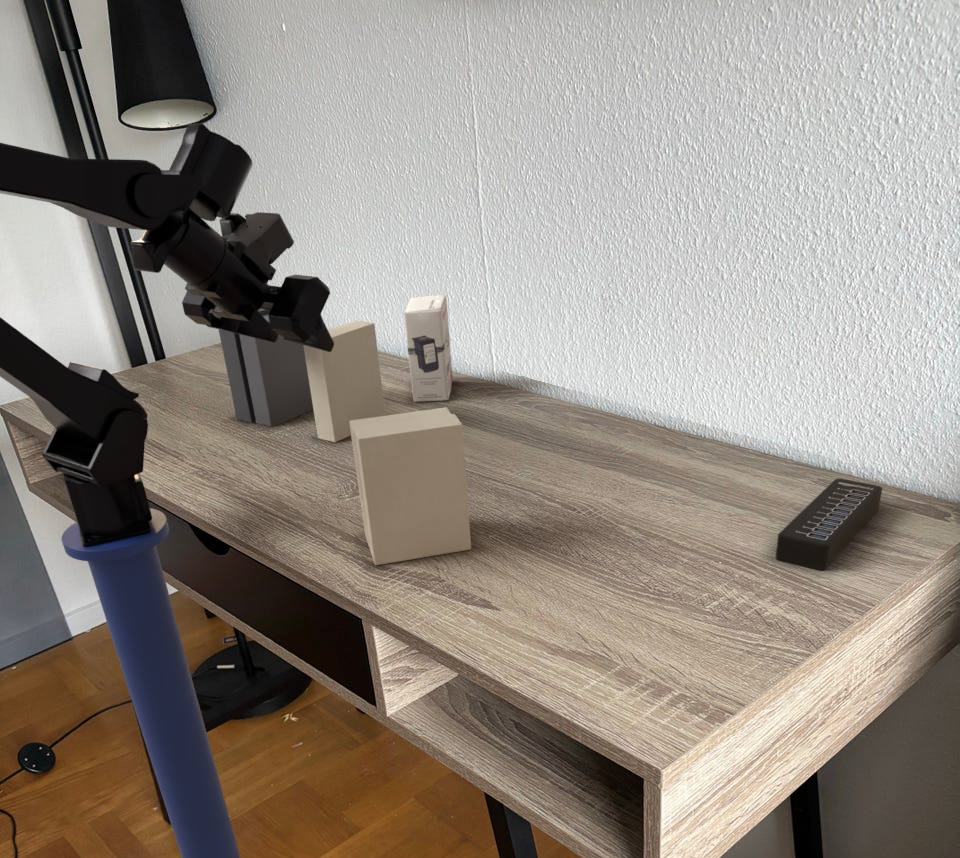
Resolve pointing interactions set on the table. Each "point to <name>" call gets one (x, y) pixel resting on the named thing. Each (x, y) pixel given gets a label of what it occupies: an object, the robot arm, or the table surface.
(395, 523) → the white books
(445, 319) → the ink box
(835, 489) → the multiport hub
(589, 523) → the table surface
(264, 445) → the table surface
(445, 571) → the table surface
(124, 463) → the robot arm
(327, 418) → the white book
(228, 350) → the grey books
